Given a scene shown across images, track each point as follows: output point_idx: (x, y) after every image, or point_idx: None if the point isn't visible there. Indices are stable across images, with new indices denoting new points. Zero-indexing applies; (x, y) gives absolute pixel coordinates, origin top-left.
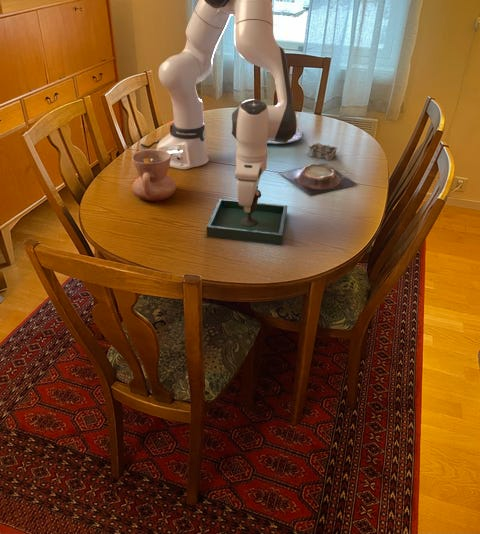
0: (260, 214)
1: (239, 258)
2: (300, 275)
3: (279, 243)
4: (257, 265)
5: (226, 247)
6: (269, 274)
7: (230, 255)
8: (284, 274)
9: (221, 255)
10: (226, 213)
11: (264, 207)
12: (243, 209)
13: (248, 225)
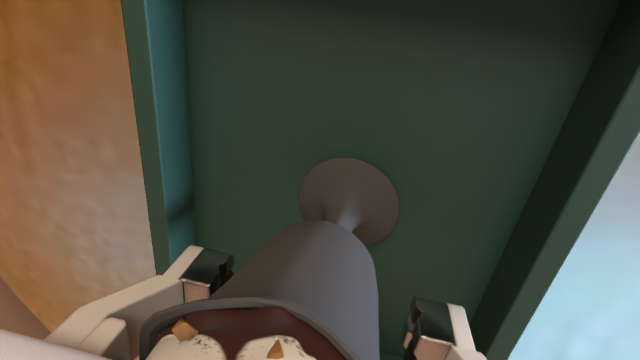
0: (447, 271)
1: (40, 136)
2: (46, 322)
3: None
4: (31, 206)
5: (97, 67)
6: (4, 240)
7: (42, 92)
8: (28, 283)
9: (21, 42)
10: (484, 45)
11: (491, 316)
12: (290, 227)
13: (301, 199)
